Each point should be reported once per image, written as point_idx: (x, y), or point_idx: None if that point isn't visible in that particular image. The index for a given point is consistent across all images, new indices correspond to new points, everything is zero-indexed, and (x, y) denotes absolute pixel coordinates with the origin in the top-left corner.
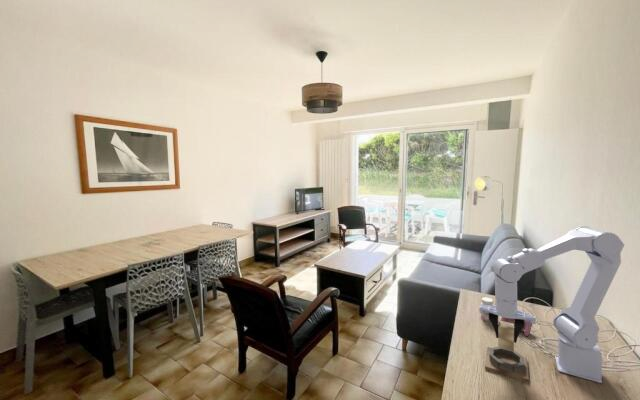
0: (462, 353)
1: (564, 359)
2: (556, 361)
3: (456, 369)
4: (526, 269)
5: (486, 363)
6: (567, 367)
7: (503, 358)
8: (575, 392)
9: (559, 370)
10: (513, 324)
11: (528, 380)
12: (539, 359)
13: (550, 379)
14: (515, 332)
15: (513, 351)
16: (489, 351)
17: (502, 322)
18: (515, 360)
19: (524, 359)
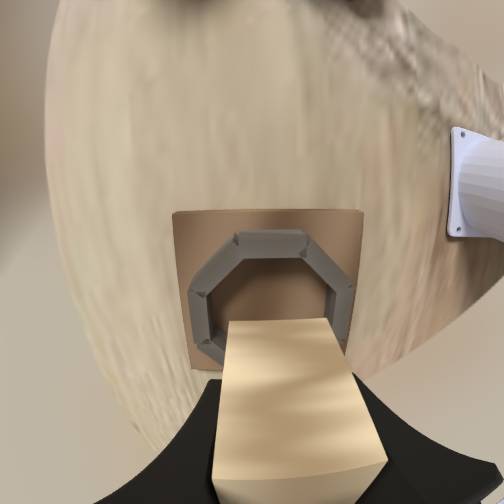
0: (97, 302)
1: (492, 229)
2: (454, 176)
3: (121, 391)
4: None
5: (192, 352)
6: (478, 228)
7: (256, 282)
8: (449, 318)
9: (451, 235)
10: (376, 473)
11: None
12: (403, 173)
13: (410, 297)
14: None
15: (310, 254)
16: (187, 255)
17: (258, 493)
18: (310, 270)
19: (350, 237)
